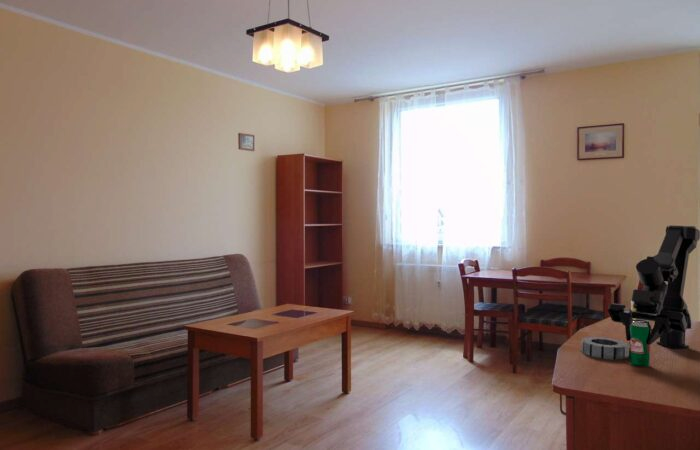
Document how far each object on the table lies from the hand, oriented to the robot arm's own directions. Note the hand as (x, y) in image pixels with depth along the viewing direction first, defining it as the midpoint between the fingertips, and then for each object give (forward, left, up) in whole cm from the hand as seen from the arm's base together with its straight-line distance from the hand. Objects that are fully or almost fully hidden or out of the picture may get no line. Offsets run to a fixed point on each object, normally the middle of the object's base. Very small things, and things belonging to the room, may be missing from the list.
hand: (638, 341), depth 141 cm
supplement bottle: (-38, -39, -7) cm, 55 cm away
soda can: (-1, -1, -7) cm, 7 cm away
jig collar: (0, -12, -7) cm, 14 cm away
